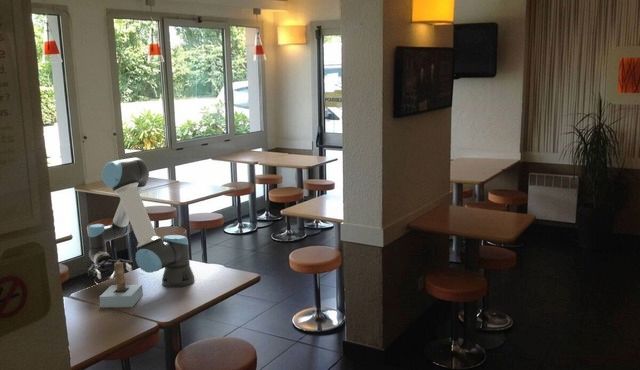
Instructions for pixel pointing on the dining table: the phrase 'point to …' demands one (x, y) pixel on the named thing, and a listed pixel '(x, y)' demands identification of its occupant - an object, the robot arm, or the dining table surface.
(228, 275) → the dining table surface
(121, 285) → the walnut peg
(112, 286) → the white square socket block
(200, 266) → the dining table surface
